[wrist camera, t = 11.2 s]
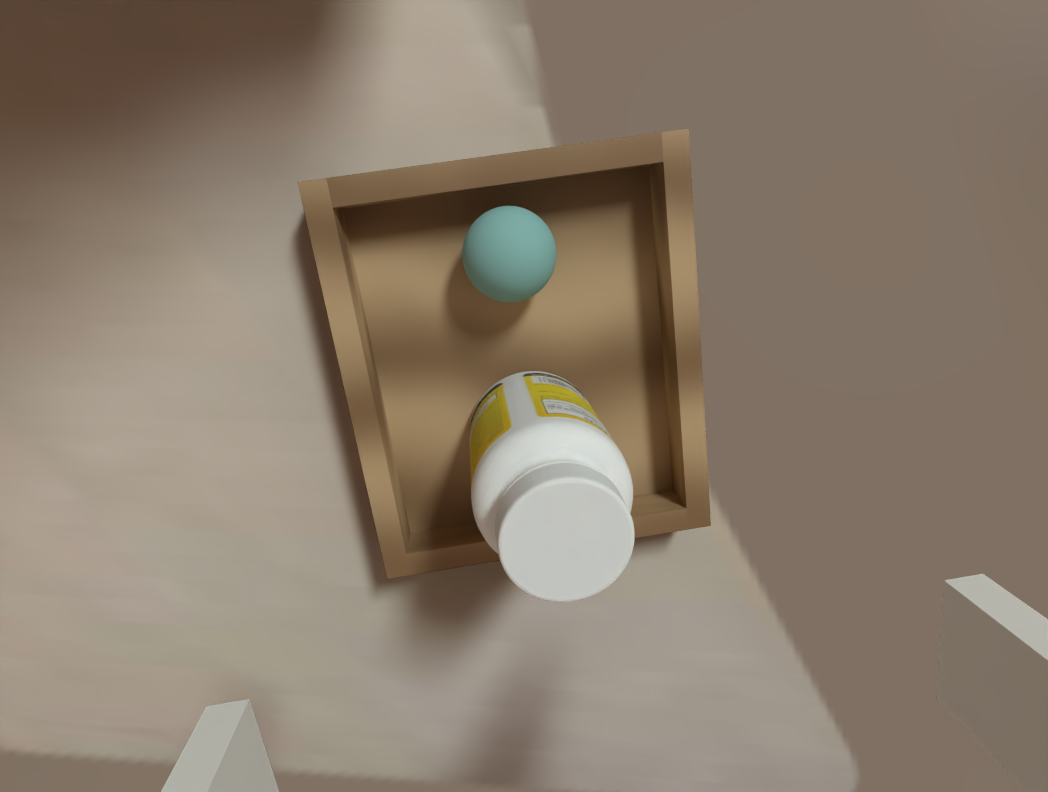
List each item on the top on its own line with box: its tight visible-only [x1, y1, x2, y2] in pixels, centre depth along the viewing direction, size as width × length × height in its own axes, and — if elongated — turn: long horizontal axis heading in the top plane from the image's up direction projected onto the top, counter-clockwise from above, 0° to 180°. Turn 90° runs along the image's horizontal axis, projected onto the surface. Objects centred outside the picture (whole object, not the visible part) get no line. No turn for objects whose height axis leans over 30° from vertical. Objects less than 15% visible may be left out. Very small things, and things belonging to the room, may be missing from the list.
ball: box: [462, 206, 556, 302], centre depth 23 cm, size 4×4×4 cm
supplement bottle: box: [469, 371, 635, 602], centre depth 22 cm, size 5×5×10 cm
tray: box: [298, 129, 711, 579], centre depth 26 cm, size 16×14×2 cm
